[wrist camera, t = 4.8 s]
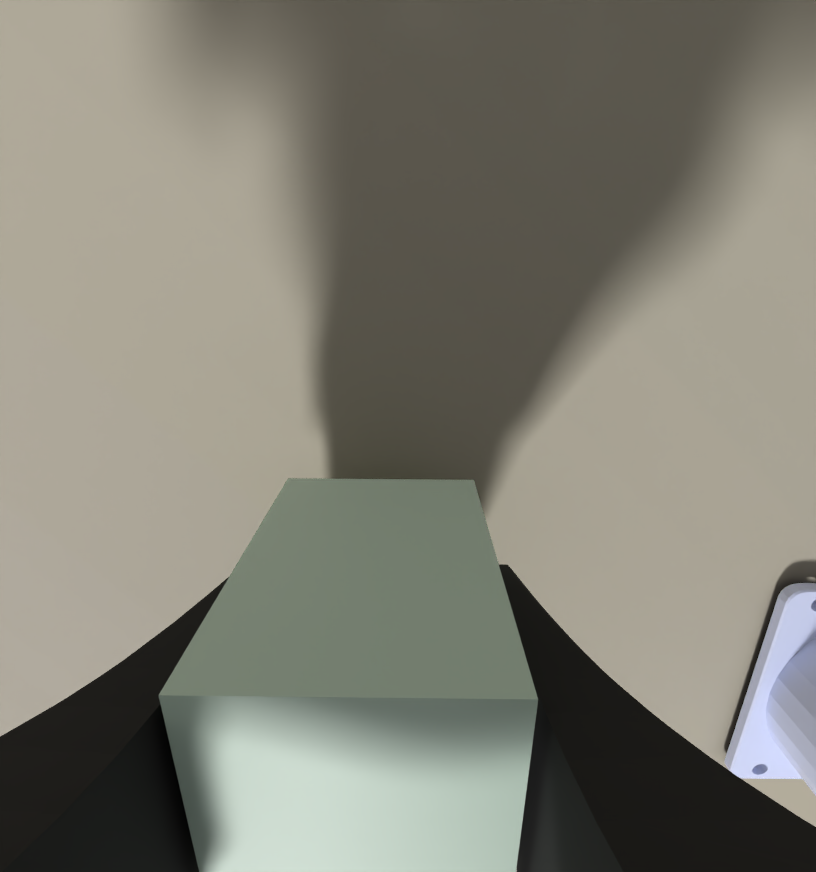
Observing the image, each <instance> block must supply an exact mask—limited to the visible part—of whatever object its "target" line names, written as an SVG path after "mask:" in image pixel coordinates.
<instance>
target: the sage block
mask: <svg viewBox="0 0 816 872" xmlns="http://www.w3.org/2000/svg"><path fill="white" fill-rule="evenodd" d="M159 700H160V704H161V708H162V713H163V717H164V721H165V726H166V730H167V734H168V739H169V743H170V747H171V752H172V756H173V760H174V765H175V769H176V773H177V778H178V782H179V786H180V791H181V795H182V799H183V804H184V808H185V812H186V817H187V821H188V825H189V830H190V834H191V838H192V843H193V847H194V851H195V856H196V860H197V864H198V869H199V872H516V868H517V860H518V852H519V844H520V837H521V829H522V821H523V813H524V806H525V798H526V790H527V782H528V775H529V767H530V759H531V751H532V744H533V736H534V728H535V720H536V713H537V705H538V697H537V694H536V690H535V687H534V683H533V680H532V677H531V673H530V670H529V666H528V663H527V660H526V656H525V653H524V649H523V646H522V643H521V639H520V636H519V632H518V629H517V625H516V622H515V619H514V615H513V612H512V608H511V605H510V602H509V598H508V595H507V591H506V588H505V585H504V581H503V578H502V574H501V571H500V567H499V564H498V561H497V557H496V554H495V550H494V547H493V544H492V540H491V537H490V533H489V530H488V527H487V523H486V520H485V516H484V513H483V509H482V506H481V503H480V499H479V496H478V492H477V489H476V486H475V482H474V480H433V479H299V478H288V480H287V481H286V483H285V485H284V486H283V488H282V490H281V491H280V493H279V495H278V496H277V498H276V500H275V501H274V503H273V505H272V506H271V508H270V510H269V511H268V513H267V515H266V516H265V518H264V520H263V521H262V523H261V525H260V526H259V528H258V530H257V531H256V533H255V535H254V537H253V538H252V540H251V542H250V543H249V545H248V547H247V548H246V550H245V552H244V553H243V555H242V557H241V558H240V560H239V562H238V563H237V565H236V567H235V568H234V570H233V572H232V573H231V575H230V577H229V578H228V580H227V582H226V583H225V585H224V587H223V588H222V590H221V592H220V593H219V595H218V597H217V598H216V600H215V602H214V603H213V605H212V607H211V608H210V610H209V612H208V613H207V615H206V617H205V618H204V620H203V622H202V623H201V625H200V627H199V628H198V630H197V632H196V633H195V635H194V637H193V638H192V640H191V642H190V644H189V645H188V647H187V649H186V650H185V652H184V654H183V655H182V657H181V659H180V660H179V662H178V664H177V665H176V667H175V669H174V670H173V672H172V674H171V675H170V677H169V679H168V680H167V682H166V684H165V685H164V687H163V689H162V690H161V692H160V694H159Z"/></svg>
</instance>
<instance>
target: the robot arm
mask: <svg viewBox="0 0 816 872" xmlns="http://www.w3.org/2000/svg"><path fill="white" fill-rule="evenodd" d="M499 567H500V571H501V574H502V578H503V581H504V585H505V588H506V591H507V595H508V598H509V602H510V605H511V608H512V612H513V615H514V619H515V622H516V625H517V629H518V632H519V636H520V639H521V643H522V646H523V649H524V653H525V656H526V660H527V663H528V666H529V670H530V673H531V677H532V680H533V683H534V687H535V690H536V694H537V697H538V705H537V713H536V720H535V728H534V736H533V744H532V751H531V759H530V767H529V775H528V782H527V790H526V798H525V806H524V813H523V821H522V829H521V837H520V844H519V852H518V860H517V872H816V827H815V826H813V825H811V824H810V823H808V822H806V821H805V820H803V819H801V818H800V817H798V816H797V815H795V814H794V813H792V812H790V811H789V810H787V809H786V808H784V807H783V806H781V805H780V804H778V803H777V802H775V801H774V800H772V799H771V798H769V797H768V796H766V795H765V794H763V793H762V792H760V791H758V790H757V789H755V788H754V787H752V786H751V785H749V784H748V783H746V782H745V781H743V780H742V779H740V778H761V779H803V780H804V781H805V783H806V784H807V785H808V786H809V788H810V789H811V790H812V792H813V793H814V794H815V796H816V583H796V584H791V585H789V586H787V587H785V588H784V589H783V590H782V591H781V592H780V594H779V596H778V598H777V601H776V604H775V607H774V611H773V614H772V617H771V620H770V623H769V626H768V629H767V632H766V635H765V638H764V641H763V644H762V647H761V650H760V653H759V656H758V660H757V663H756V666H755V669H754V672H753V675H752V678H751V681H750V684H749V687H748V690H747V693H746V696H745V699H744V702H743V705H742V709H741V712H740V715H739V718H738V721H737V724H736V727H735V730H734V733H733V736H732V739H731V742H730V745H729V748H728V751H727V754H726V758H725V764H726V766H727V768H728V769H729V770H727V769H726V768H725V767H723V766H722V765H720V764H719V763H717V762H716V761H715V760H713V759H712V758H710V757H709V756H708V755H706V754H705V753H704V752H702V751H701V750H699V749H698V748H697V747H695V746H694V745H693V744H691V743H690V742H689V741H687V740H686V739H685V738H683V737H682V736H681V735H679V734H678V733H677V732H675V731H674V730H673V729H671V728H670V727H669V726H667V725H666V724H665V723H664V722H662V721H661V720H660V719H659V718H657V717H656V716H655V715H654V714H652V713H651V712H650V711H649V710H647V709H646V708H645V707H644V706H643V705H642V704H640V703H639V702H638V701H637V700H636V699H635V698H633V697H632V696H631V695H630V694H629V693H628V692H626V691H625V690H624V689H623V688H622V687H621V686H619V685H618V684H617V683H616V682H615V681H614V680H613V679H611V678H610V677H609V676H608V675H607V674H606V673H605V672H604V671H603V670H602V669H601V668H600V667H599V666H598V665H597V664H596V663H595V662H594V661H593V660H592V659H591V658H589V657H588V656H587V655H586V654H585V653H584V652H583V651H582V650H581V649H580V647H579V646H578V645H577V644H576V643H575V642H574V641H573V640H572V639H571V638H570V637H569V636H568V635H567V634H566V633H565V632H564V630H563V629H562V628H561V627H560V626H559V625H558V624H557V623H556V622H555V621H554V619H553V618H552V617H551V616H550V615H549V614H548V613H547V612H546V610H545V609H544V608H543V607H542V606H541V605H540V603H539V602H538V601H537V600H536V599H535V598H534V596H533V595H532V594H531V593H530V591H529V590H528V589H527V588H526V587H525V585H524V584H523V583H522V582H521V580H520V579H519V578H518V577H517V575H516V574H515V573H514V572H513V570H512V569H511V568H510V567H509V566H508V565H499ZM228 578H229V577H228ZM228 578H227V579H226V580H225V581H224V582H222V583H221V584H220V585H219V586H218V587H216V588H215V589H214V590H213V591H212V592H211V593H209V594H208V595H207V596H206V597H205V598H203V599H202V600H201V601H200V602H198V603H197V604H196V605H195V606H194V607H192V608H191V609H190V610H189V611H187V612H186V613H185V614H184V615H183V616H181V617H180V618H179V619H178V620H176V621H175V622H174V623H173V624H171V625H170V626H169V627H167V628H166V629H165V630H163V631H162V632H161V633H159V634H158V635H157V636H155V637H154V638H153V639H151V640H150V641H149V642H147V643H146V644H145V645H143V646H142V647H141V648H139V649H138V650H137V651H135V652H134V653H133V654H131V655H130V656H129V657H127V658H126V659H125V660H123V661H122V662H120V663H119V664H118V665H116V666H115V667H113V668H112V669H110V670H109V671H107V672H106V673H104V674H103V675H101V676H100V677H98V678H97V679H95V680H94V681H92V682H91V683H89V684H88V685H86V686H85V687H83V688H81V689H80V690H78V691H77V692H75V693H74V694H72V695H71V696H69V697H67V698H66V699H64V700H63V701H61V702H59V703H58V704H56V705H54V706H53V707H51V708H49V709H48V710H46V711H44V712H42V713H41V714H39V715H37V716H35V717H34V718H32V719H30V720H28V721H27V722H25V723H23V724H22V725H20V726H18V727H16V728H15V729H13V730H11V731H9V732H8V733H6V734H4V735H2V736H1V737H0V872H199V869H198V864H197V860H196V856H195V851H194V847H193V843H192V838H191V834H190V830H189V825H188V821H187V817H186V812H185V808H184V804H183V799H182V795H181V791H180V786H179V782H178V778H177V773H176V769H175V765H174V760H173V756H172V752H171V747H170V743H169V739H168V734H167V730H166V726H165V721H164V717H163V713H162V708H161V704H160V700H159V694H160V692H161V690H162V689H163V687H164V685H165V684H166V682H167V680H168V679H169V677H170V675H171V674H172V672H173V670H174V669H175V667H176V665H177V664H178V662H179V660H180V659H181V657H182V655H183V654H184V652H185V650H186V649H187V647H188V645H189V644H190V642H191V640H192V638H193V637H194V635H195V633H196V632H197V630H198V628H199V627H200V625H201V623H202V622H203V620H204V618H205V617H206V615H207V613H208V612H209V610H210V608H211V607H212V605H213V603H214V602H215V600H216V598H217V597H218V595H219V593H220V592H221V590H222V588H223V587H224V585H225V583H226V582H227V580H228Z"/></svg>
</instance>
